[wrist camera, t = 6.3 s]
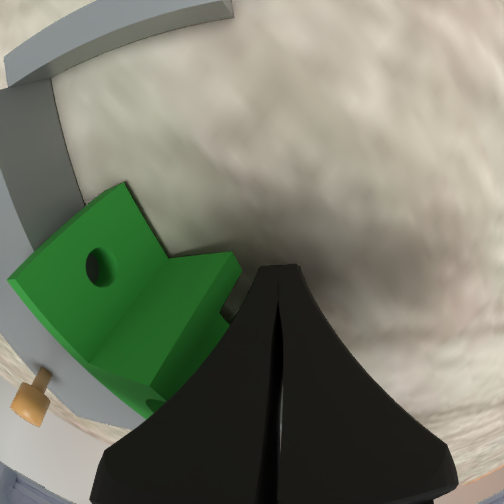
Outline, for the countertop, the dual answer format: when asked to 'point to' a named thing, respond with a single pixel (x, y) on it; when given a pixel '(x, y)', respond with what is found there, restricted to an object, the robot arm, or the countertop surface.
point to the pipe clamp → (127, 301)
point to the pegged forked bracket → (62, 185)
